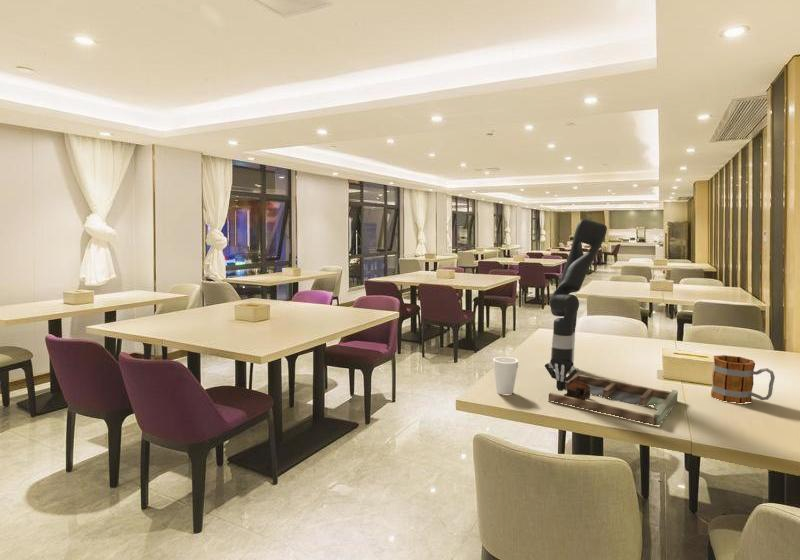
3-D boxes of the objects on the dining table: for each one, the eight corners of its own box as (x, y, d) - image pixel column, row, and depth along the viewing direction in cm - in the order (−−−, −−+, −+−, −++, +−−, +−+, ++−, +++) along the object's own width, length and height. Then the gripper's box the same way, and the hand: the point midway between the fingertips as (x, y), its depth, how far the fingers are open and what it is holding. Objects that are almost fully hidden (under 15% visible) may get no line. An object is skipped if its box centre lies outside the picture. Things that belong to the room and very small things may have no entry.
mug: (703, 397, 186) (706, 358, 184) (717, 390, 194) (720, 353, 193) (766, 412, 170) (769, 370, 169) (777, 404, 179) (781, 364, 177)
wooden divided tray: (546, 401, 180) (546, 390, 180) (575, 380, 205) (576, 371, 204) (658, 427, 157) (659, 415, 156) (677, 401, 181) (677, 390, 181)
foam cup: (502, 398, 183) (503, 364, 182) (487, 390, 191) (488, 358, 190) (522, 394, 187) (523, 361, 186) (506, 387, 196) (507, 355, 194)
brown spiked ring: (556, 398, 185) (563, 377, 187) (577, 408, 186) (584, 387, 188) (575, 400, 173) (582, 379, 175) (597, 411, 175) (604, 389, 177)
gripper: (583, 346, 183) (581, 391, 185) (549, 341, 192) (547, 384, 193) (576, 350, 177) (574, 396, 179) (541, 345, 186) (540, 389, 188)
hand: (560, 390), depth 186 cm, fingers closed
